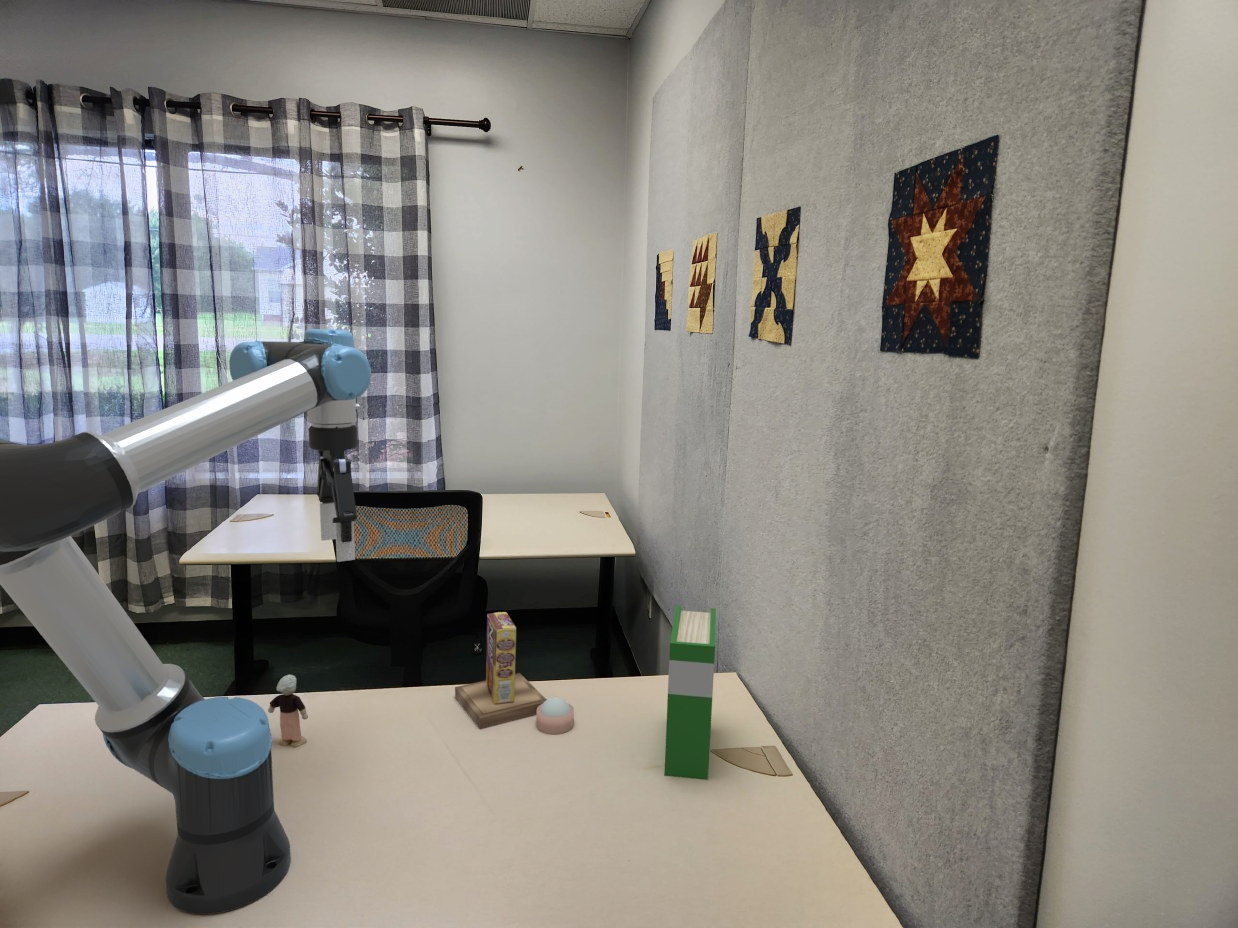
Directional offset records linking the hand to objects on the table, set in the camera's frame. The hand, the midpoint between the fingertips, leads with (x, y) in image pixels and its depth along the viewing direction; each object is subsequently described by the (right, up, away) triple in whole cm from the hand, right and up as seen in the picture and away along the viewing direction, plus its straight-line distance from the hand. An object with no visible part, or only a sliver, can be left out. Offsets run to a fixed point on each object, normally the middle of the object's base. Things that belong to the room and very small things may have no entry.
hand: (337, 549), depth 129 cm
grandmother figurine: (-12, -36, +8) cm, 38 cm away
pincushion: (+35, -35, +15) cm, 52 cm away
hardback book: (+60, -38, +9) cm, 72 cm away
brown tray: (+24, -34, +23) cm, 47 cm away
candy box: (+24, -31, +22) cm, 45 cm away
